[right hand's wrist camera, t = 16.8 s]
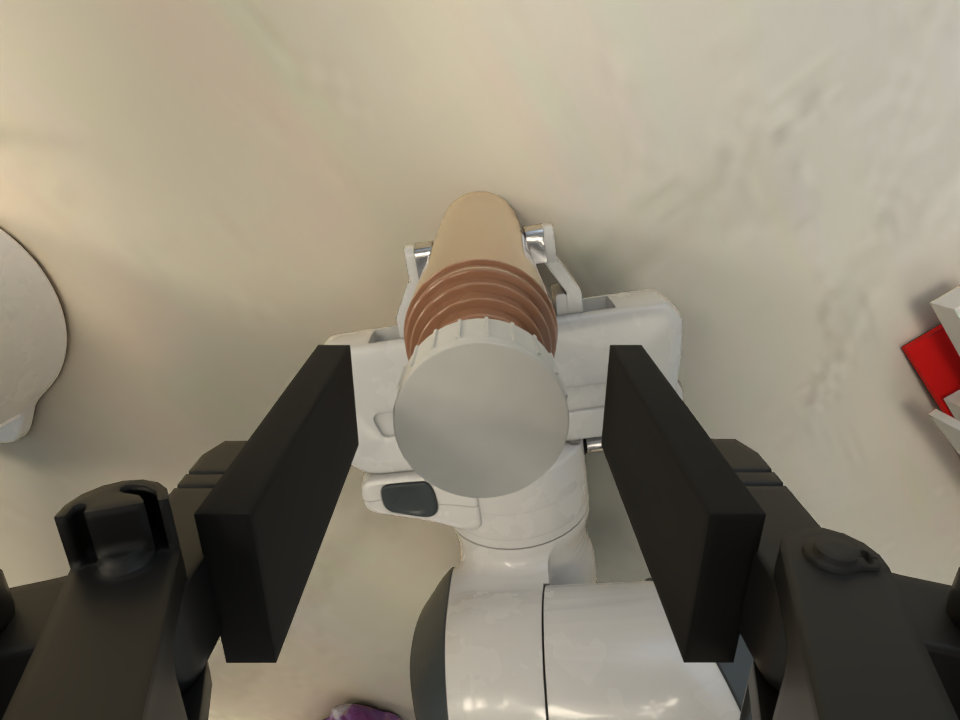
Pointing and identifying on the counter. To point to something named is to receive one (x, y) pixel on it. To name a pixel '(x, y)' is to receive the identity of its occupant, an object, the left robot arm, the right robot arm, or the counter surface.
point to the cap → (481, 409)
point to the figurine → (359, 713)
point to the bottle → (480, 275)
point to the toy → (941, 364)
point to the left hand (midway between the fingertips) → (476, 234)
